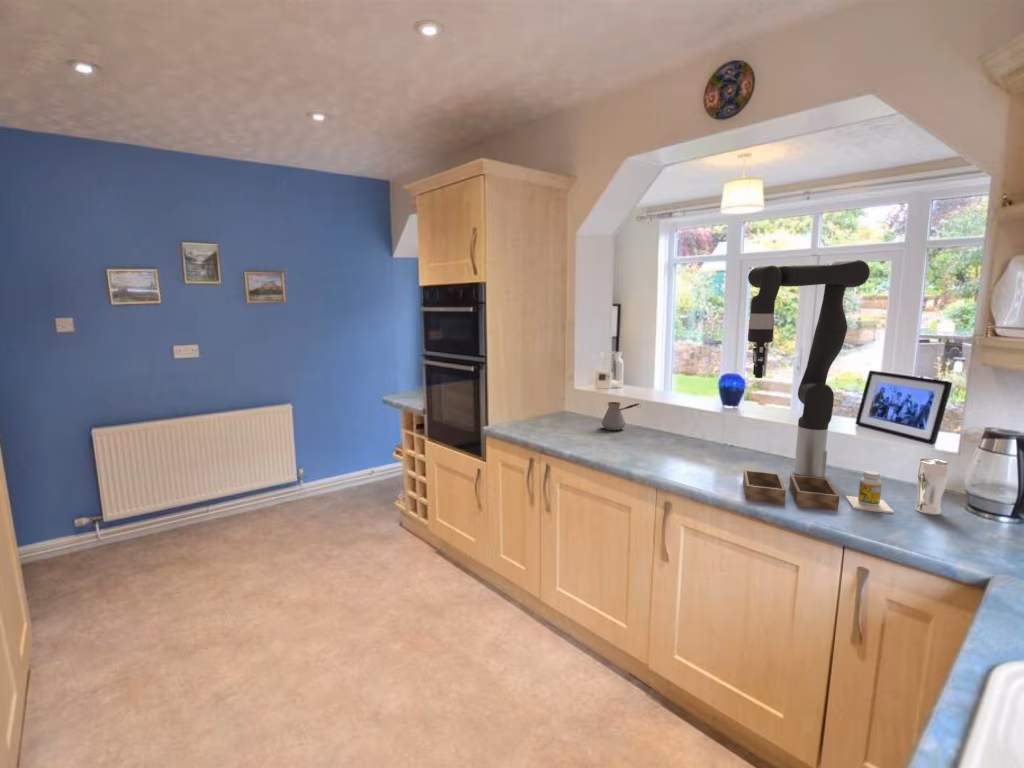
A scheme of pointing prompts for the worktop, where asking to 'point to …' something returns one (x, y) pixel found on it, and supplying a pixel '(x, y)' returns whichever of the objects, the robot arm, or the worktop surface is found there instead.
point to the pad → (880, 508)
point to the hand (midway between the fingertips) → (757, 376)
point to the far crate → (764, 493)
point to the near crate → (810, 498)
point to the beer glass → (930, 485)
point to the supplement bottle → (870, 489)
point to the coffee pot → (615, 416)
